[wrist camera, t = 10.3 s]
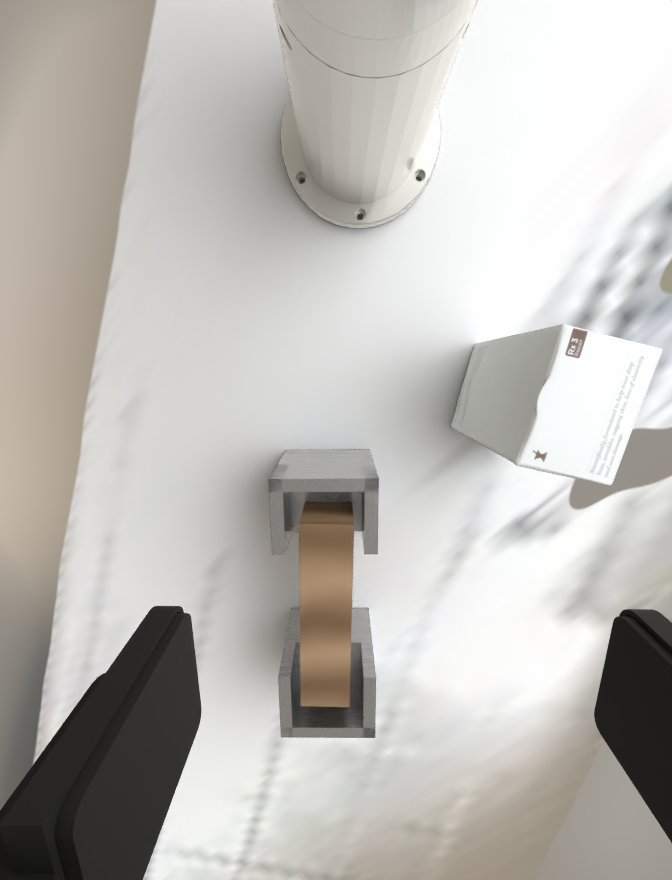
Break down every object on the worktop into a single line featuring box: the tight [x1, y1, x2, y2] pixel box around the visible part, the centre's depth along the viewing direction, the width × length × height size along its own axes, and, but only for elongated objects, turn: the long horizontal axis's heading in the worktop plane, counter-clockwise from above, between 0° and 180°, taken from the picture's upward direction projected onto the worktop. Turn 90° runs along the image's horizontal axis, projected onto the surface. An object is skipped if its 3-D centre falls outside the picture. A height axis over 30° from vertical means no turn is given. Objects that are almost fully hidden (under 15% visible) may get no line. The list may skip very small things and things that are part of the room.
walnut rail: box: [299, 502, 354, 707], centre depth 32 cm, size 16×4×4 cm, turn 179°
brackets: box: [269, 450, 379, 738], centre depth 35 cm, size 23×8×9 cm, turn 1°
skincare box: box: [451, 324, 662, 485], centre depth 28 cm, size 8×6×15 cm
